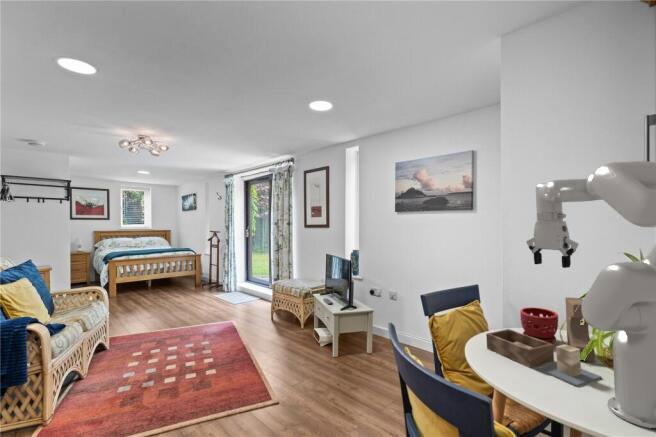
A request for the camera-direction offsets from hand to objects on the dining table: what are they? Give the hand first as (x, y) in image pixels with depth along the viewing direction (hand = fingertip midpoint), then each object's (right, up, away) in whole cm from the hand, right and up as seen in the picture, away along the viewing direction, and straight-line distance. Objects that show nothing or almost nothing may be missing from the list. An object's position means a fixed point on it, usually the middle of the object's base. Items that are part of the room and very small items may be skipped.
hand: (551, 265), depth 111 cm
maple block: (-1, -34, -9) cm, 35 cm away
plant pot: (+9, -34, +20) cm, 41 cm away
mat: (-1, -34, -9) cm, 35 cm away
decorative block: (+14, -34, +4) cm, 37 cm away
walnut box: (-8, -35, +7) cm, 36 cm away
